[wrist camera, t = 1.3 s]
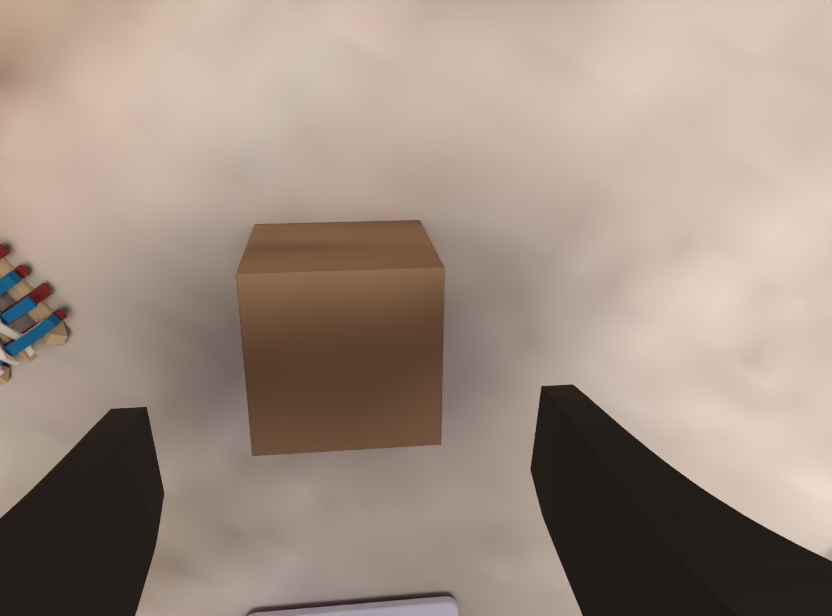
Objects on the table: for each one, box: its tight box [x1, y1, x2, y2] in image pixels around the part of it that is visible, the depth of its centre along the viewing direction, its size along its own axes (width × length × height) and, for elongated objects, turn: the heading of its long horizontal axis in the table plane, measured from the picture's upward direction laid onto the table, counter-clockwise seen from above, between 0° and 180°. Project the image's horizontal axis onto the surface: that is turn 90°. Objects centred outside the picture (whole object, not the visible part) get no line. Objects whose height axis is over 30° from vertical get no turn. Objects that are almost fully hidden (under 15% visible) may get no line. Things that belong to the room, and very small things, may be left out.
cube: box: [236, 220, 444, 456], centre depth 20 cm, size 5×5×5 cm
